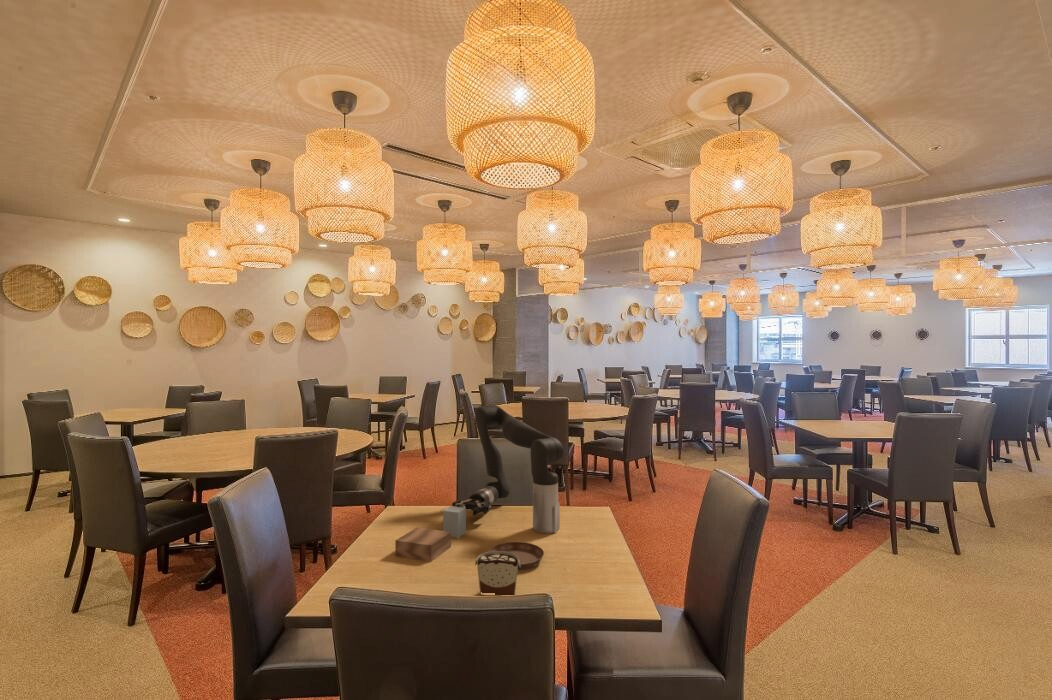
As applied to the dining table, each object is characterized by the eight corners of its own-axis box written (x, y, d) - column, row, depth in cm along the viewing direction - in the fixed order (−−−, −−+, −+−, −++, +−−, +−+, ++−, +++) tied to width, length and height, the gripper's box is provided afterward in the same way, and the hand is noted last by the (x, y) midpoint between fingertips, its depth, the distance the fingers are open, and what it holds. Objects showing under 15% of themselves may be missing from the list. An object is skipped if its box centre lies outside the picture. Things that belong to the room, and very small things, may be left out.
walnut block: (450, 546, 179) (450, 532, 179) (431, 561, 167) (431, 545, 167) (416, 542, 184) (416, 527, 184) (395, 556, 171) (395, 540, 171)
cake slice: (522, 587, 150) (522, 551, 150) (520, 597, 143) (520, 559, 143) (479, 584, 151) (479, 549, 151) (474, 594, 145) (474, 557, 145)
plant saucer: (533, 577, 157) (533, 566, 157) (477, 568, 163) (478, 558, 163) (551, 555, 173) (551, 545, 173) (500, 548, 179) (500, 539, 179)
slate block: (465, 532, 194) (465, 507, 194) (458, 538, 188) (458, 512, 188) (450, 530, 196) (450, 506, 196) (443, 536, 190) (443, 510, 190)
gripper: (465, 488, 216) (446, 499, 201) (498, 492, 211) (480, 503, 196) (465, 507, 216) (446, 519, 201) (497, 511, 211) (480, 523, 196)
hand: (463, 511), depth 198 cm, fingers open, 8 cm apart
